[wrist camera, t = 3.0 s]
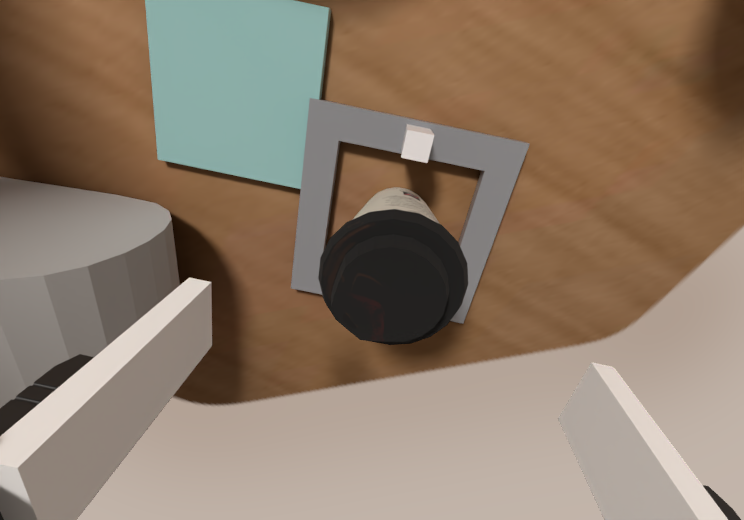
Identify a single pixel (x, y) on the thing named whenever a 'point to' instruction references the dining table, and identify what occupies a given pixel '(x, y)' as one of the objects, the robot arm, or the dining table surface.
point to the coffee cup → (393, 271)
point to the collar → (413, 143)
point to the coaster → (236, 83)
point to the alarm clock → (74, 274)
